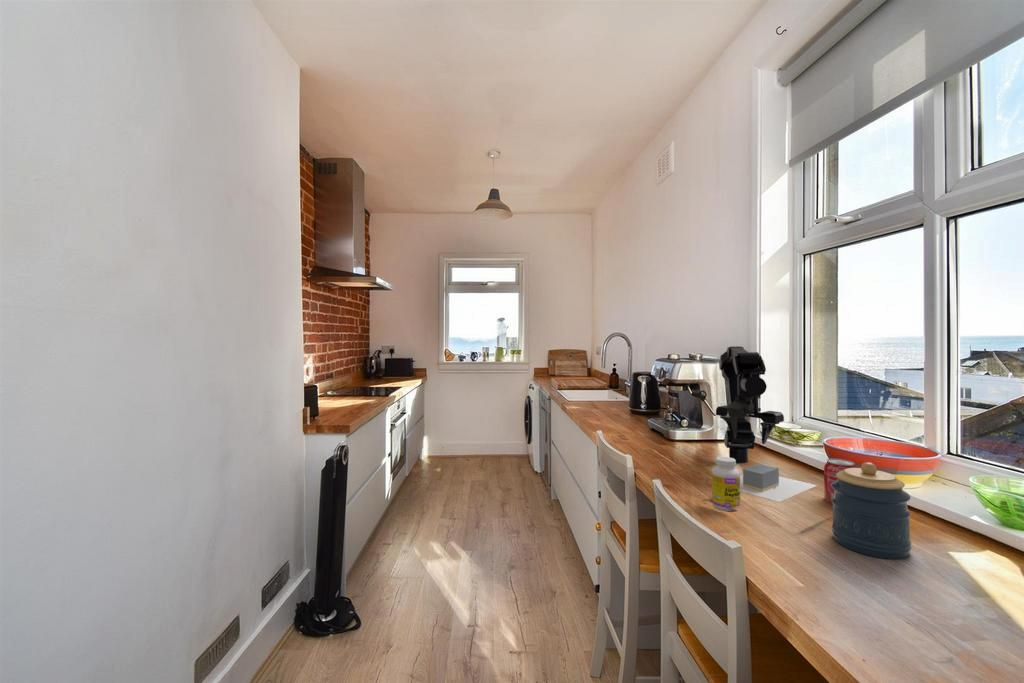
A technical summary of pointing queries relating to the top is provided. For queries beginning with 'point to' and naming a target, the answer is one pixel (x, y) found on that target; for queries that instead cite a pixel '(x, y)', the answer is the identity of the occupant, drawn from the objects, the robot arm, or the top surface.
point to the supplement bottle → (725, 484)
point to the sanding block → (760, 477)
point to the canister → (871, 512)
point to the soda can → (833, 475)
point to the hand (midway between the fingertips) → (748, 441)
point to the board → (779, 489)
